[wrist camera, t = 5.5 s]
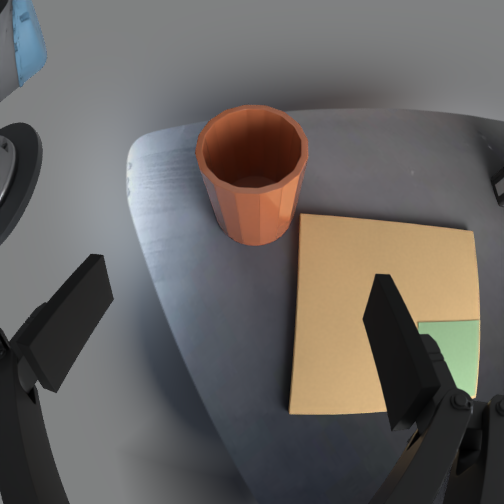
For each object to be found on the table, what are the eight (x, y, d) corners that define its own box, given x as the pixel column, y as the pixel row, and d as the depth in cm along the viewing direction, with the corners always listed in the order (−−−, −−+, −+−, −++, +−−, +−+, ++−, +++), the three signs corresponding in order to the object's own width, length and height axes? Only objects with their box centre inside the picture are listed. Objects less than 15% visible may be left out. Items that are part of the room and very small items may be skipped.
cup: (211, 243, 30) (187, 191, 20) (220, 173, 32) (205, 104, 22) (292, 248, 30) (308, 198, 19) (294, 177, 32) (306, 108, 22)
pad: (412, 405, 24) (412, 405, 24) (417, 322, 27) (418, 322, 27) (474, 395, 24) (474, 395, 24) (478, 320, 26) (478, 320, 26)
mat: (288, 412, 26) (289, 414, 25) (299, 216, 31) (300, 213, 30) (471, 397, 25) (475, 397, 24) (469, 233, 30) (473, 230, 29)
